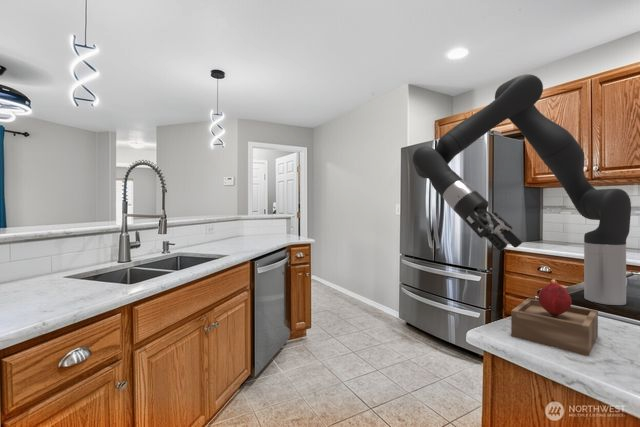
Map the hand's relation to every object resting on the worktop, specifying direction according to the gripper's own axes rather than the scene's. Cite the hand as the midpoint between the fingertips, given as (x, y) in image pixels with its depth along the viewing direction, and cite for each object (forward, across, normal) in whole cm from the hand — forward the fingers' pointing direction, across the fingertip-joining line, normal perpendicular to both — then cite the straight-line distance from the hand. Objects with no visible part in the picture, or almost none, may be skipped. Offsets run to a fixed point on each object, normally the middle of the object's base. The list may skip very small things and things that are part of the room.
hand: (511, 246), depth 75 cm
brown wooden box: (+20, 0, +8) cm, 21 cm away
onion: (+16, 0, +4) cm, 17 cm away
